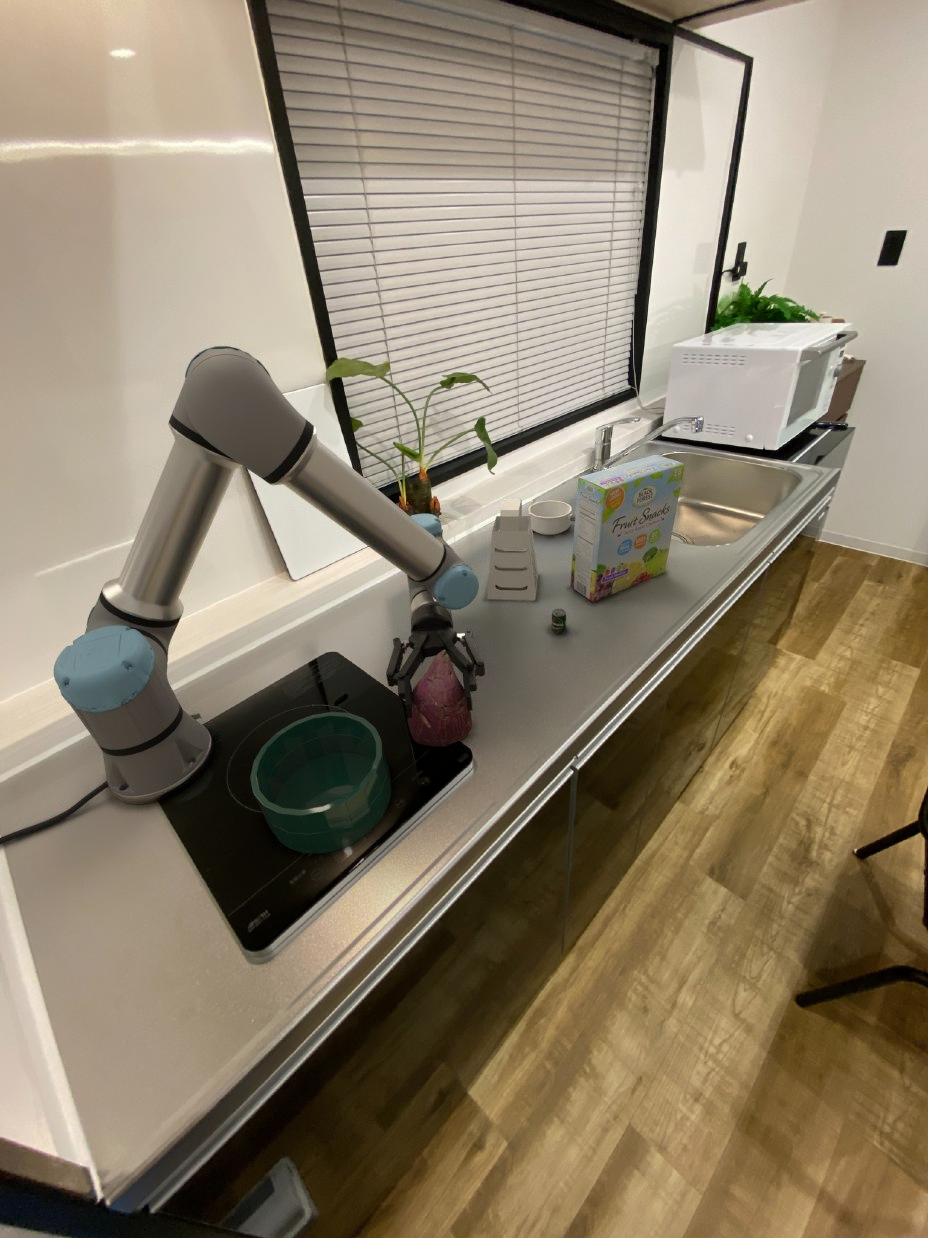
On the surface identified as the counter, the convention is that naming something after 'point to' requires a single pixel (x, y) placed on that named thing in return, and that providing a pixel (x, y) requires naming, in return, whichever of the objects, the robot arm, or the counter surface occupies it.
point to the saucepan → (550, 517)
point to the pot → (322, 782)
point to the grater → (512, 554)
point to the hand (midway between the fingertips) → (439, 707)
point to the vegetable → (439, 706)
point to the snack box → (624, 525)
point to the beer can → (558, 621)
